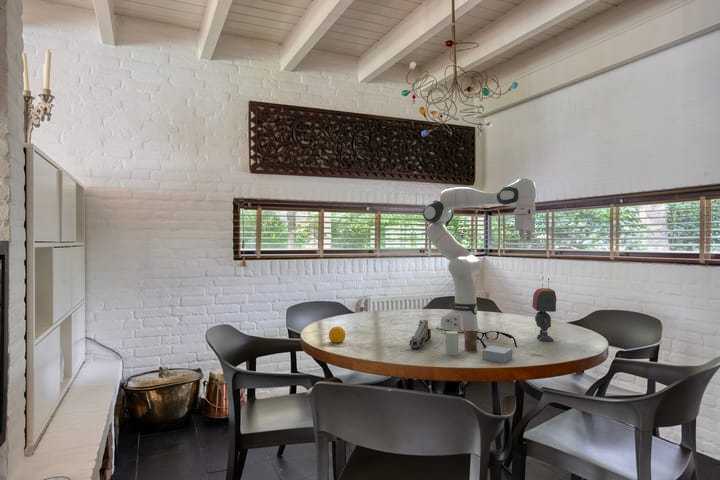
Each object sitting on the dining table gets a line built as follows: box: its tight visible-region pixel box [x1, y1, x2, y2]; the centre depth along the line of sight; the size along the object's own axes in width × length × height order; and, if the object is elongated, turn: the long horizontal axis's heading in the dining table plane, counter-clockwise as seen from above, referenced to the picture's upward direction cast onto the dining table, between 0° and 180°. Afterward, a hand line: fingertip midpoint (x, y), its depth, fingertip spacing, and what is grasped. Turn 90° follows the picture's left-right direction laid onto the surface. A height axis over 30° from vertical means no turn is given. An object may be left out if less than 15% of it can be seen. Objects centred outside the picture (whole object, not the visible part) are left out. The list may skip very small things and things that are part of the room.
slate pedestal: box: [481, 345, 513, 364], centre depth 183 cm, size 9×9×4 cm
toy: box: [409, 319, 432, 350], centre depth 207 cm, size 6×24×10 cm, turn 161°
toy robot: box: [531, 277, 557, 343], centre depth 216 cm, size 22×9×30 cm, turn 168°
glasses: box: [477, 330, 518, 349], centre depth 208 cm, size 17×18×5 cm
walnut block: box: [464, 329, 478, 353], centre depth 196 cm, size 4×4×9 cm
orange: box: [328, 326, 347, 344], centre depth 211 cm, size 8×8×8 cm
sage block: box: [445, 330, 459, 356], centre depth 190 cm, size 4×4×9 cm
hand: (525, 240), depth 220 cm, fingers open, 8 cm apart
